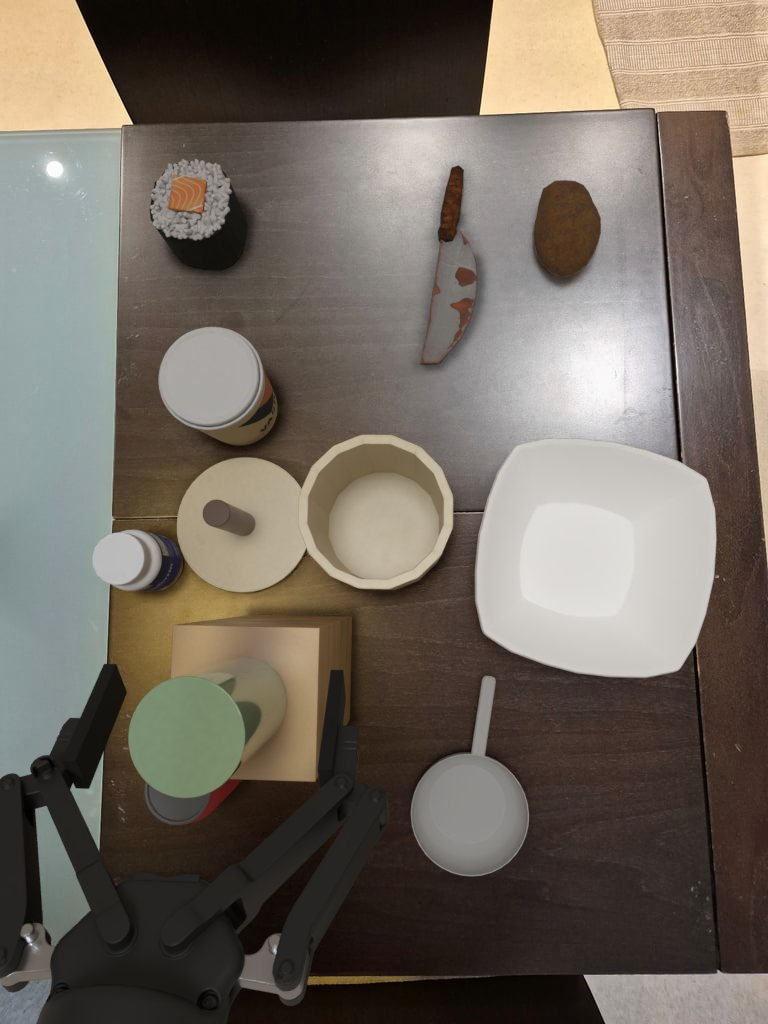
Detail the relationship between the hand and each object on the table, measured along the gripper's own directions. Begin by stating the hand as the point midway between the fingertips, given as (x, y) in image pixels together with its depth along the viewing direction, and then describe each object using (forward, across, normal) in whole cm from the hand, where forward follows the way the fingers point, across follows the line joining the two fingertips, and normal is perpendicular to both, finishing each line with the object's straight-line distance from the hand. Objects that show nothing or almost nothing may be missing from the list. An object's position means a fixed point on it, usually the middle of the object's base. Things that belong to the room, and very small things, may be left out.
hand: (226, 680), depth 44 cm
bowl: (+27, +27, -14) cm, 41 cm away
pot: (+29, +8, -12) cm, 32 cm away
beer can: (+13, -8, -28) cm, 32 cm away
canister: (+2, 0, -5) cm, 5 cm away
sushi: (+51, -11, +10) cm, 53 cm away
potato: (+50, +26, +9) cm, 57 cm away
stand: (+19, 0, -22) cm, 29 cm away
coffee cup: (+38, -7, -4) cm, 38 cm away
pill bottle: (+26, -15, -15) cm, 34 cm away
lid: (+28, -6, -11) cm, 31 cm away
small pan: (+13, +17, -28) cm, 35 cm away
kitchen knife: (+48, +15, +7) cm, 51 cm away
